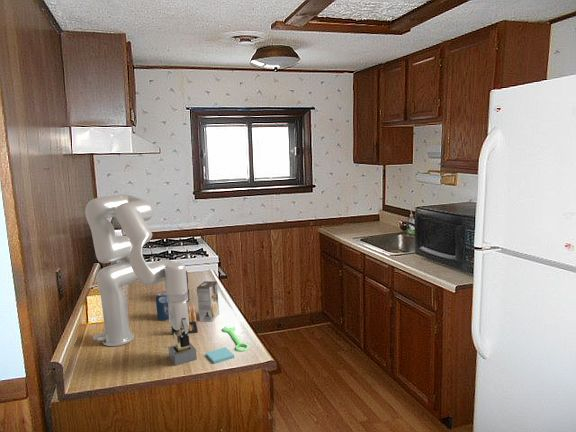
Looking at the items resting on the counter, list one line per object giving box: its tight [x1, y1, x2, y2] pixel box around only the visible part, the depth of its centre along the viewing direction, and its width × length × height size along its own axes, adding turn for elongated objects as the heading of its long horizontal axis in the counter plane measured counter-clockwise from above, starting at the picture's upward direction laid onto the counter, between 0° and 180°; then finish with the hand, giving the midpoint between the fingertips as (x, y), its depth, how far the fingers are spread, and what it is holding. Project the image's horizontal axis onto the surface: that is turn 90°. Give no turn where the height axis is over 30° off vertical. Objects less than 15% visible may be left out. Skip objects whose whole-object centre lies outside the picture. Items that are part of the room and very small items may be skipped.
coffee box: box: [196, 280, 220, 322], centre depth 205 cm, size 9×6×16 cm
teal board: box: [205, 346, 235, 364], centre depth 167 cm, size 8×8×1 cm
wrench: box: [222, 326, 249, 352], centre depth 182 cm, size 25×2×5 cm
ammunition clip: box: [170, 304, 198, 336], centre depth 189 cm, size 11×2×12 cm, turn 97°
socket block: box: [167, 341, 198, 366], centre depth 167 cm, size 8×8×4 cm
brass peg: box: [173, 330, 189, 353], centre depth 166 cm, size 4×4×10 cm
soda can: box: [155, 290, 169, 321], centre depth 207 cm, size 7×7×12 cm
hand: (181, 342), depth 166 cm, fingers open, 7 cm apart
